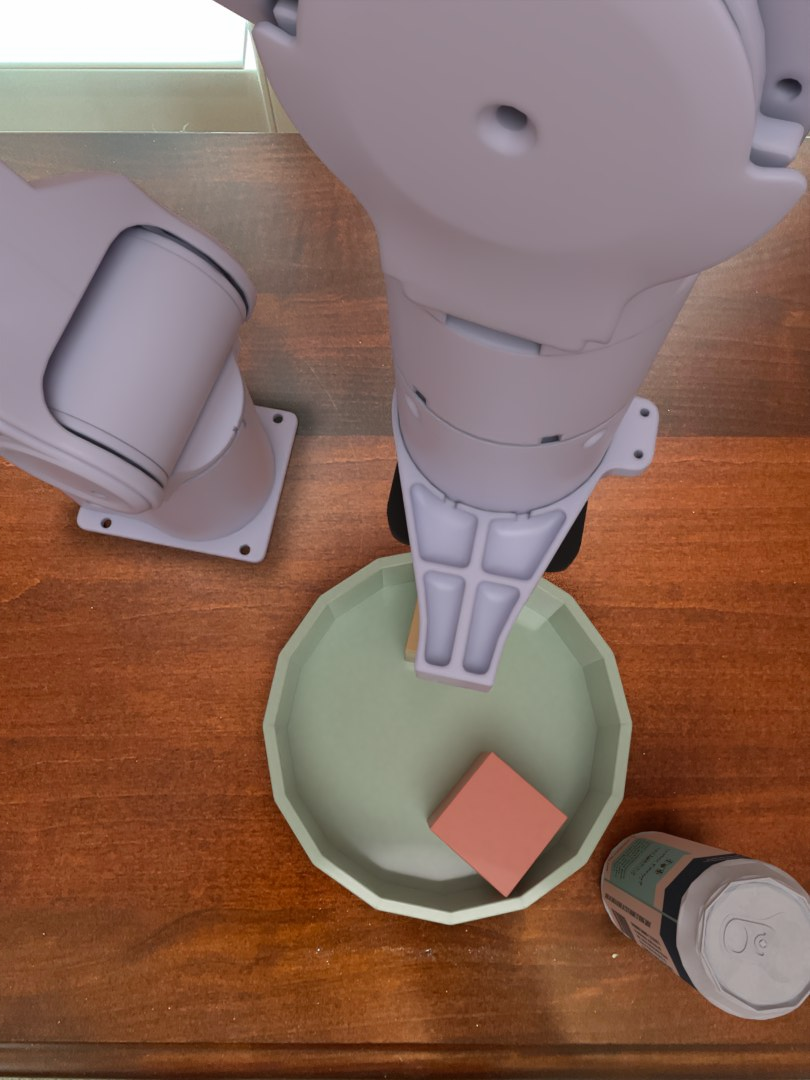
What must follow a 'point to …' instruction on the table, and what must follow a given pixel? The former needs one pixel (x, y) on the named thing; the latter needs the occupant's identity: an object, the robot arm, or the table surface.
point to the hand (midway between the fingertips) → (486, 512)
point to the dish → (438, 743)
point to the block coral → (496, 822)
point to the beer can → (714, 921)
